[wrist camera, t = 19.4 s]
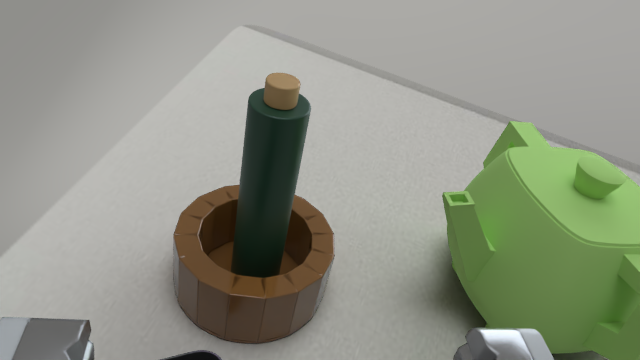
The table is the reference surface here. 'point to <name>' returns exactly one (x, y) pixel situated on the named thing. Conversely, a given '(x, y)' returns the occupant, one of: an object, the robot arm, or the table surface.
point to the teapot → (551, 245)
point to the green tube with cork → (269, 175)
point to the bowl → (244, 291)
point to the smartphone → (195, 356)
